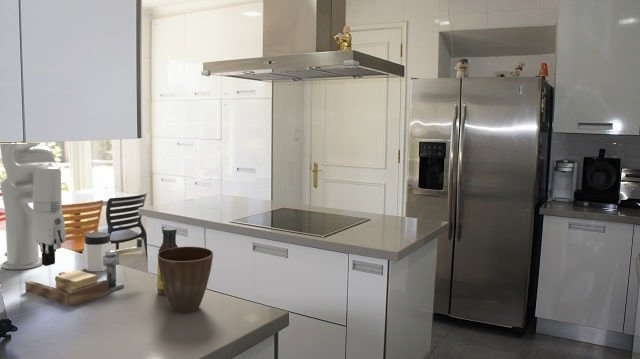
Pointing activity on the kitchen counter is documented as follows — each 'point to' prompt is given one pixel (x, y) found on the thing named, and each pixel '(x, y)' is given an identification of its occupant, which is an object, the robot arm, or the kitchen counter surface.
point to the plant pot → (185, 276)
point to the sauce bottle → (168, 243)
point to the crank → (124, 250)
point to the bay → (69, 292)
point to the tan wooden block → (74, 280)
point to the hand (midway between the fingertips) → (48, 264)
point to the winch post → (112, 272)
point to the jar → (96, 250)
